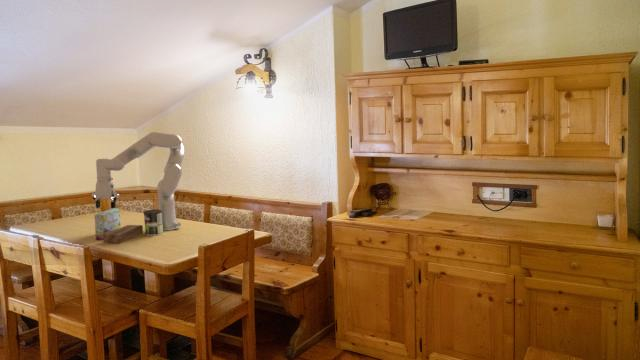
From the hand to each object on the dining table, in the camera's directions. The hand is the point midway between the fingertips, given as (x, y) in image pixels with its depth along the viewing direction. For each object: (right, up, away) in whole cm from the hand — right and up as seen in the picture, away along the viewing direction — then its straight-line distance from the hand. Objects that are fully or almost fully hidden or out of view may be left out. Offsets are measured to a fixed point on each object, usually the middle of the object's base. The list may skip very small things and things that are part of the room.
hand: (105, 207), depth 271 cm
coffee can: (+27, -16, +4) cm, 32 cm away
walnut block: (+13, -17, -4) cm, 22 cm away
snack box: (+1, -17, +3) cm, 17 cm away
